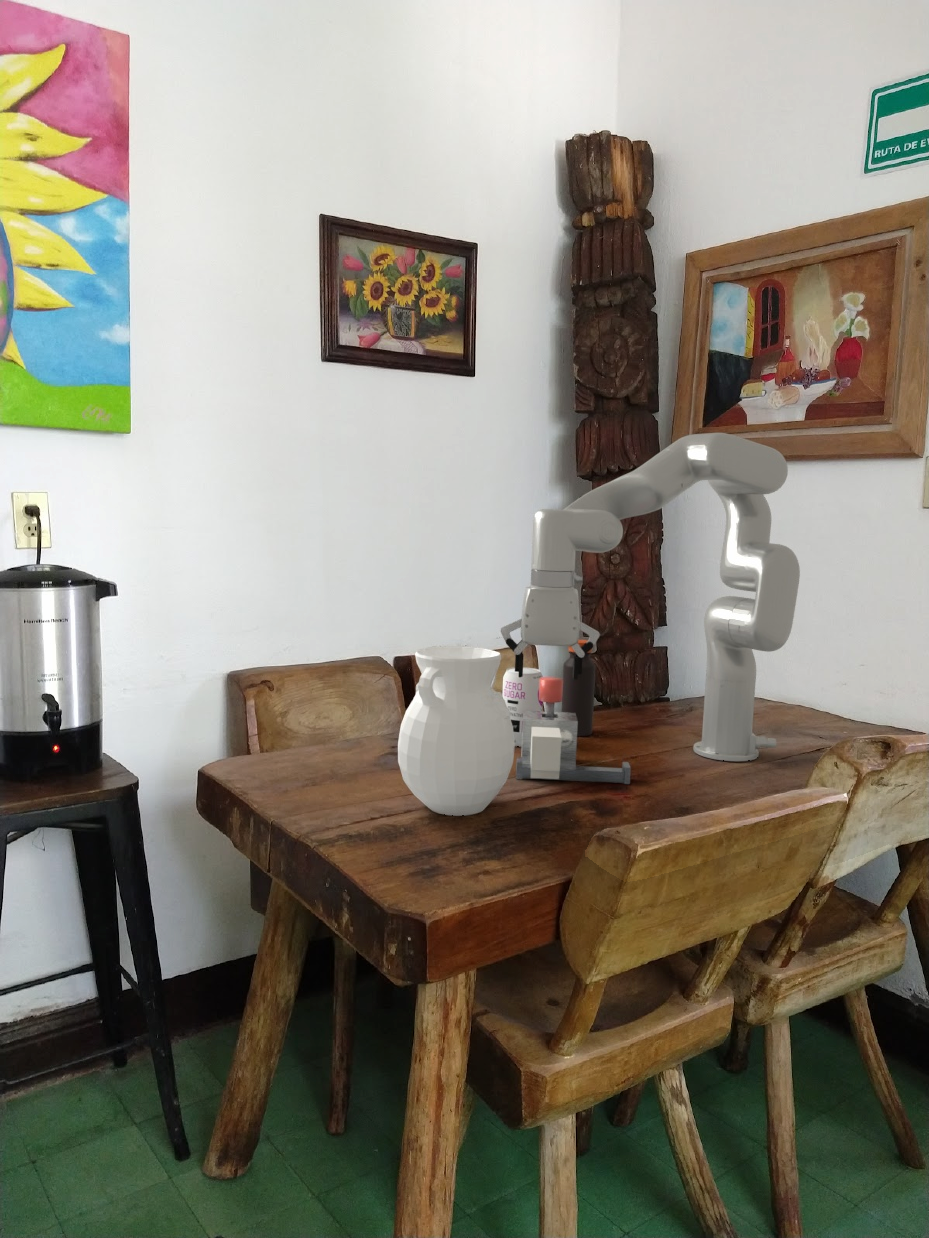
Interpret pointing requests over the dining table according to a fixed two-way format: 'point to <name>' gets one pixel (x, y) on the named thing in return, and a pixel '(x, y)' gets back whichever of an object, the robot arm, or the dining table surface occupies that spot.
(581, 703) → the bottle
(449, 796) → the pitcher
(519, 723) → the supplement can
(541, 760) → the carriage
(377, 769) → the dining table surface
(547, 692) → the button
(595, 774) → the rail
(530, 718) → the grey box
